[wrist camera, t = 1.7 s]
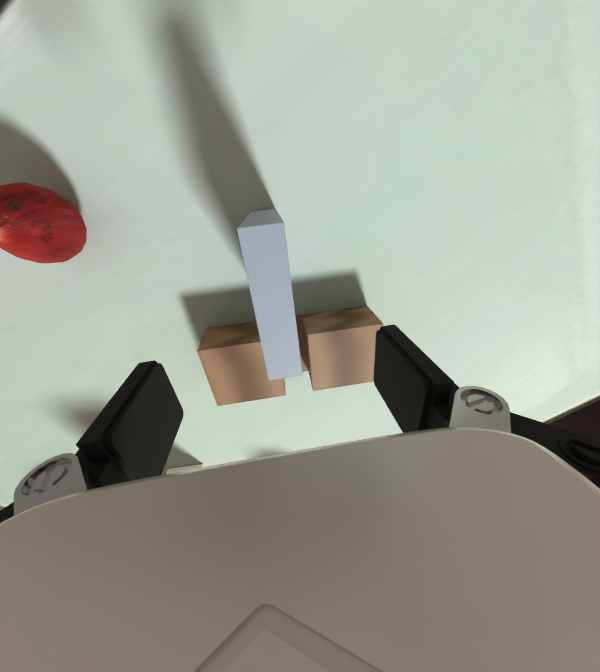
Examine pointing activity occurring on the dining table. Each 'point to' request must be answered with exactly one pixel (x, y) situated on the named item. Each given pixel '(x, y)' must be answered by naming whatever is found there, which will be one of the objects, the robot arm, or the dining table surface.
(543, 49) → the dining table surface
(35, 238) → the red pomegranate
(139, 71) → the dining table surface
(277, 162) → the dining table surface
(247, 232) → the grey block
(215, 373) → the slotted base
